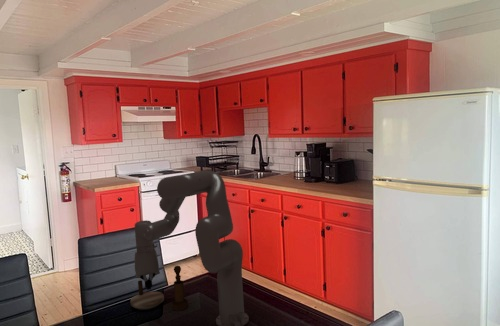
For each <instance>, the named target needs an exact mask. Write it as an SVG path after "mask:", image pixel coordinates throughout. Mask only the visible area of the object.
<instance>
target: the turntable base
mask: <svg viewBox="0 0 500 326" xmlns="http://www.w3.org/2000/svg"><path fill="white" fill-rule="evenodd" d="M159 305H160V304H158V305H156V306H153V307H149V308H136V309H137V310H138V311H149V310H153V309H155V308H157V307H158V306H159Z"/></svg>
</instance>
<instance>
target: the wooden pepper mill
mask: <svg viewBox="0 0 500 326" xmlns="http://www.w3.org/2000/svg"><path fill="white" fill-rule="evenodd" d="M173 271H174V273H175V276H174V277H175V280H174V282H173V290H174V300H173V301H172V305H171V306H172V307H171V308H172V310H174V311H176V312H180V311H181V312H182V311H184V310H187V309H188V307H189V303H188V300H187V298H185V291H184V289H185V288H184V281H183V280H181V275H180V273H181V272H182V267H181V266H180V265H175V266H174V267H173Z"/></svg>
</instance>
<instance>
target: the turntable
mask: <svg viewBox="0 0 500 326" xmlns="http://www.w3.org/2000/svg"><path fill="white" fill-rule="evenodd" d="M137 287H138V294H136V295H134V296H132V297H131V299H130V306H131V307H133V308H135V309H137V308H149V307H153V306H156V305H158V304H159V305H160V304H162V303H163V302H164V300H165V297H164V293H163V292H160V291H156V290H155V291H151V290H150V291H145V292H144V289H143V280H141V279H140V280H138V281H137ZM159 305H158V306H159Z"/></svg>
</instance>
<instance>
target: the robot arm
mask: <svg viewBox="0 0 500 326" xmlns="http://www.w3.org/2000/svg"><path fill="white" fill-rule="evenodd" d="M156 187H157V188H156V191H157V194H158V196H159V197H160V198H161V199H160V200H159V208H160V210H161V211H163V212H164V213H166V214H165V216H164V218H163V219H160V220H156V221H153V222H152V221H151V220H139V221H136V222H135V223H134V234H135V235H134V236H135V245H136V251H135V252H134V272H135V275H134V277H135V278H136V279H140V280H141V279H142V281H144V288H145V289H147V291H149V290H152V287H153V279H154V278H155V277H156V276H157V275H159V274H161V273H160V272H161V271H160V265H159V259H158V258H159V257H158V253H157V250H156V248H158V244H156V243H155V242H154V241H157V240H159V239H162V238H164V237H167V236H170V235H171V234H172V233H173V232H175V230H176V228H177V226H178V224H179V222H180V211H179V210H180V208H181V206H182V204H183V203H184V201H185V200H186V198H187V197H192V196H196V195H200V194H203V193H206V197H205V208H206V213H207V216H205V217H202V218H200V219H199V220H198V221H197V223H196V225H195V230H194V232H195V239H196V243H197V248H198V252H199V257H200V261H201V264H202V266H203V268H204V269H205V270H206V271H207V272H208V273H210V274H217V275H216V278H217V279H216V281H217V294H218V295H217V296H218V297H217V298H218V310H219V311H218V312H219V315H218V316H217V317H216V318H215V324H216V325H217V326H245V325H247V324H248V323H249V321H250V320H249V319H250V317H249V315H248V314H247V313H246V312H245V305H244V290H243V289H244V288H243V287H244V286H243V258H244V251H243V246H242V245H241V243H240V242H239V241H238V240H235V239H232V238H231V239H229V238H228V239H225V238H226V237H228V236H230V235H231V234H232V232H233V230H234V223H233V218H232V215H231V214H232V213H231V210H230V205H229V202H228V197H227V188H226V183H225V182H224V179H223V177H222V176H221V175H220V174H219V173H218V172H216V171H213V170H201V171H195V172H189V173H185V174H180V175H179V174H178V175H172V176H166V177H164V178H161V179H160V180H159V182H158V183H157V186H156ZM223 238H224V239H225V240H222V239H223ZM220 240H222V241H220ZM147 275H148V278H147Z"/></svg>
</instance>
